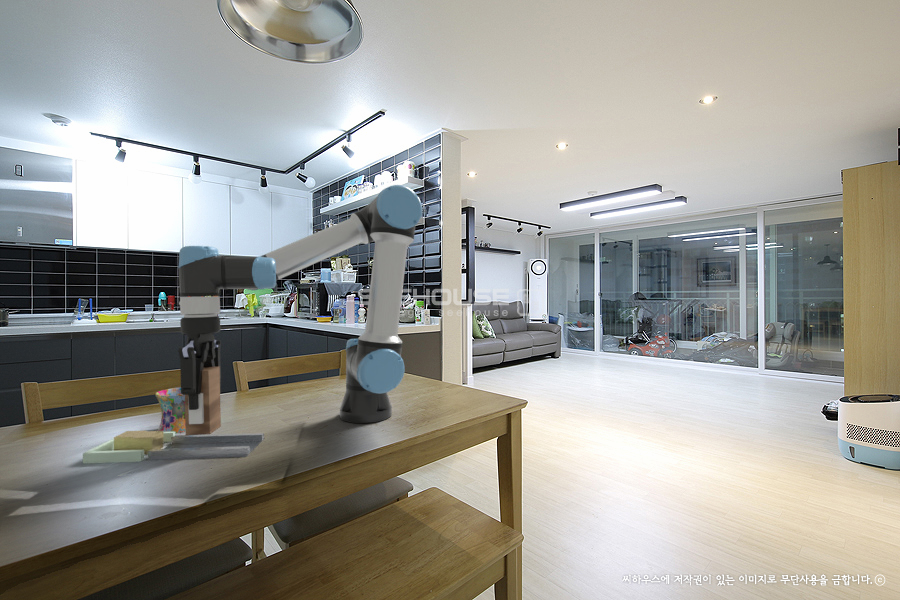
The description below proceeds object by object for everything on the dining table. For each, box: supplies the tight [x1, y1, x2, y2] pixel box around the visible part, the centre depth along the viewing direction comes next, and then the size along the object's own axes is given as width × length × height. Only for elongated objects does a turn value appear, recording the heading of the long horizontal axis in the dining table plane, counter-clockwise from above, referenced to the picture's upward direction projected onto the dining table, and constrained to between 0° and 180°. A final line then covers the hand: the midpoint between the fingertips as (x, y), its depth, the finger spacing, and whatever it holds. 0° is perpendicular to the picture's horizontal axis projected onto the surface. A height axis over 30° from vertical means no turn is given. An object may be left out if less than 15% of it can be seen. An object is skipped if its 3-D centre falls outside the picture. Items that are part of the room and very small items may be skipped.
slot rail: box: [145, 432, 265, 461], centre depth 88 cm, size 20×11×2 cm, turn 96°
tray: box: [82, 432, 176, 464], centre depth 86 cm, size 11×12×3 cm
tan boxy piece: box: [132, 430, 164, 455], centre depth 86 cm, size 4×4×4 cm
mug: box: [154, 386, 186, 434], centre depth 102 cm, size 12×9×11 cm
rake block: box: [185, 366, 222, 435], centre depth 88 cm, size 5×5×14 cm
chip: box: [113, 430, 145, 451], centre depth 86 cm, size 4×4×4 cm
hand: (203, 419), depth 88 cm, fingers closed on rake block, 5 cm apart
